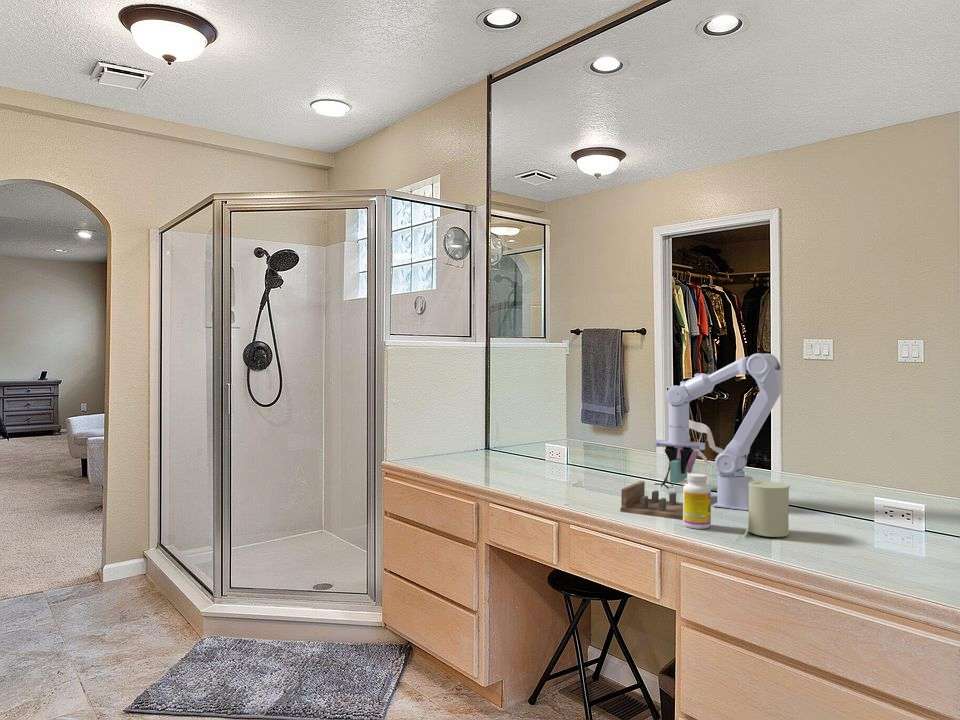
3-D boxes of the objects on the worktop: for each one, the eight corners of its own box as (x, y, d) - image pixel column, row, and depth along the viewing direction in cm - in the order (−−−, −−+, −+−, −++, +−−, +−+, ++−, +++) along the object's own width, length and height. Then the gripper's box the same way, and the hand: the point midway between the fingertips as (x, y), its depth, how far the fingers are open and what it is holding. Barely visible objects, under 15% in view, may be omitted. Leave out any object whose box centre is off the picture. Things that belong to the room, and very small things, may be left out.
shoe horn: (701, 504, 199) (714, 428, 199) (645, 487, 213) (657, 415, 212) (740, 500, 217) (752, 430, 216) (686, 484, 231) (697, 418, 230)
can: (754, 525, 172) (755, 477, 172) (793, 531, 167) (794, 482, 167) (742, 532, 165) (742, 482, 165) (782, 539, 159) (783, 487, 159)
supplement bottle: (712, 530, 167) (712, 477, 167) (684, 528, 169) (684, 476, 169) (708, 523, 174) (709, 473, 174) (681, 522, 175) (682, 472, 175)
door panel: (687, 477, 205) (687, 457, 205) (677, 483, 197) (677, 462, 197) (680, 477, 207) (680, 457, 206) (670, 482, 198) (670, 461, 198)
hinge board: (703, 508, 191) (703, 487, 191) (686, 520, 178) (686, 496, 178) (640, 501, 201) (640, 480, 201) (620, 511, 187) (620, 489, 187)
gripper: (707, 426, 201) (707, 473, 201) (659, 424, 209) (659, 468, 209) (701, 428, 195) (701, 476, 195) (651, 426, 203) (651, 471, 203)
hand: (678, 472), depth 202 cm, fingers closed on door panel, 2 cm apart
